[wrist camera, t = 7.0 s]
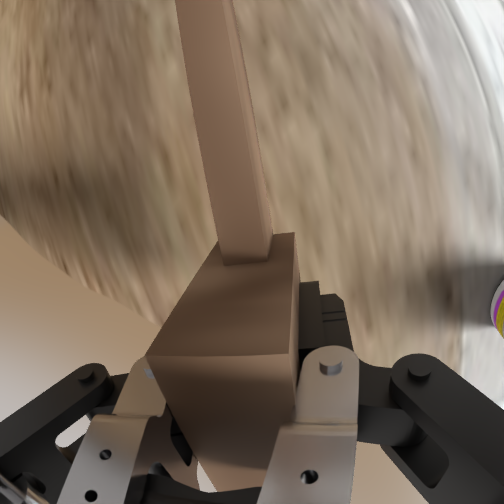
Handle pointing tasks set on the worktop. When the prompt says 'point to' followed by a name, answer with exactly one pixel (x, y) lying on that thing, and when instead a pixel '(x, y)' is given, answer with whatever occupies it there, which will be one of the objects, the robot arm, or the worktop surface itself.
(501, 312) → the supplement bottle
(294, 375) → the walnut push stick
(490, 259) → the worktop surface
